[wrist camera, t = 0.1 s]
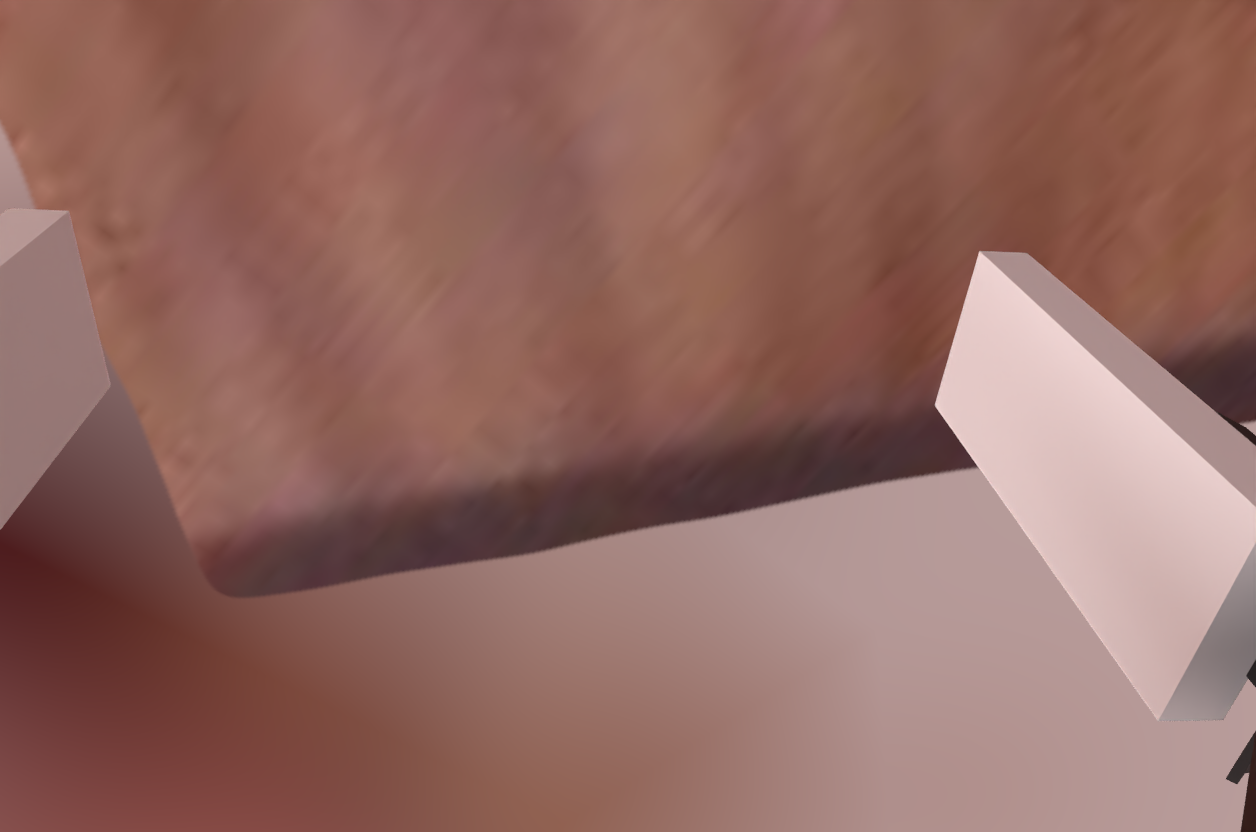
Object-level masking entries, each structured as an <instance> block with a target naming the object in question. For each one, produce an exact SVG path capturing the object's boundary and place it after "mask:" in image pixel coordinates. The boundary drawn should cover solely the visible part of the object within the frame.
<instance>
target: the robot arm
mask: <svg viewBox="0 0 1256 832" xmlns="http://www.w3.org/2000/svg"><path fill="white" fill-rule="evenodd" d="M110 386H111V384H110V380H109V376H108V372H107V368H106V364H105V359H104V355H103V351H102V347H101V343H100V339H99V334H98V330H97V326H96V322H95V318H94V314H93V309H92V305H91V301H90V297H89V293H88V289H87V284H86V280H85V276H84V272H83V268H82V264H81V260H80V255H79V251H78V247H77V243H76V239H75V235H74V230H73V226H72V222H71V218H70V214H69V211H58V210H35V209H12V208H9V209H7V210H6V211H5V212H3V213H2V214H0V529H1V528H2V527H3V525H4V524H5V523H6V522H7V520H8V519H9V518H10V516H11V515H12V514H13V513H14V511H15V510H16V509H17V507H18V506H19V504H20V503H21V502H22V501H23V499H24V498H25V497H26V496H27V494H28V493H29V492H30V490H31V489H32V488H33V486H34V485H35V484H36V483H37V481H38V480H39V479H40V477H41V476H42V475H43V473H44V472H45V471H46V469H47V468H48V467H49V466H50V464H51V463H52V462H53V460H54V459H55V458H56V456H57V455H58V454H59V453H60V451H61V450H62V449H63V447H64V446H65V445H66V443H67V442H68V441H69V439H70V438H71V437H72V436H73V434H74V433H75V432H76V430H77V429H78V428H79V427H80V425H81V424H82V422H83V421H84V420H85V419H86V417H87V416H88V415H89V413H90V412H91V411H92V410H93V408H94V407H95V406H96V404H97V403H98V402H99V401H100V399H101V398H102V397H103V395H104V394H105V393H106V391H107V390H108V389H109V387H110ZM935 406H936V408H937V409H938V411H939V412H940V414H941V415H942V416H943V418H944V419H945V421H946V422H947V423H948V425H949V426H950V428H951V429H952V430H953V432H954V433H955V435H956V436H957V438H958V439H959V440H960V442H961V443H962V445H963V446H964V447H965V449H966V450H967V452H968V453H969V455H970V456H971V457H972V459H973V460H974V462H975V463H976V464H977V466H978V467H979V469H980V470H981V471H982V473H983V474H984V475H985V477H986V479H987V480H988V481H989V483H990V484H991V486H992V487H993V488H994V490H995V491H996V493H997V494H998V495H999V497H1000V498H1001V500H1002V501H1003V502H1004V504H1005V505H1006V507H1007V508H1008V510H1009V511H1010V512H1011V514H1012V515H1013V517H1014V518H1015V519H1016V521H1017V522H1018V523H1019V525H1020V527H1021V528H1022V529H1023V531H1024V532H1025V534H1026V535H1027V536H1028V538H1029V539H1030V541H1031V542H1032V543H1033V545H1034V546H1035V548H1036V549H1037V551H1038V552H1039V553H1040V555H1041V556H1042V557H1043V559H1044V560H1045V562H1046V563H1047V565H1048V566H1049V567H1050V569H1051V570H1052V572H1053V573H1054V575H1055V576H1056V578H1057V579H1058V580H1059V582H1060V583H1061V585H1062V586H1063V587H1064V589H1065V590H1066V592H1067V593H1068V594H1069V596H1070V597H1071V599H1072V600H1073V602H1074V603H1075V604H1076V606H1077V607H1078V609H1079V610H1080V611H1081V613H1082V614H1083V615H1084V617H1085V618H1086V620H1087V621H1088V623H1089V624H1090V626H1091V627H1092V628H1093V630H1094V631H1095V633H1096V634H1097V635H1098V637H1099V638H1100V640H1101V641H1102V643H1103V644H1104V645H1105V647H1106V648H1107V650H1108V651H1109V652H1110V654H1111V655H1112V657H1113V658H1114V660H1115V661H1116V662H1117V664H1118V665H1119V667H1120V668H1121V669H1122V671H1123V672H1124V674H1125V675H1126V676H1127V678H1128V679H1129V681H1130V682H1131V684H1132V685H1133V686H1134V688H1135V689H1136V691H1137V692H1138V693H1139V695H1140V696H1141V698H1142V699H1143V700H1144V702H1145V703H1146V705H1147V706H1148V708H1149V709H1150V710H1151V712H1152V713H1153V715H1154V716H1155V717H1156V718H1157V720H1158V721H1192V720H1193V721H1200V720H1224V718H1225V716H1226V715H1227V713H1228V711H1229V710H1230V708H1231V706H1232V705H1233V703H1234V701H1235V700H1236V698H1237V696H1238V695H1239V693H1240V691H1241V690H1242V688H1243V686H1244V685H1245V683H1246V681H1247V680H1248V679H1249V680H1250V681H1251V682H1252V684H1253V685H1254V686H1255V687H1256V436H1255V435H1254V434H1253V433H1252V432H1251V431H1249V430H1248V429H1247V428H1246V427H1244V426H1242V425H1240V424H1238V423H1237V422H1235V421H1233V420H1231V419H1229V418H1227V417H1225V416H1223V415H1222V414H1220V413H1218V412H1216V411H1214V410H1213V409H1211V408H1210V407H1209V406H1208V405H1207V404H1205V403H1204V402H1203V401H1202V400H1201V399H1199V398H1198V397H1197V396H1196V395H1195V394H1194V393H1192V392H1191V391H1190V390H1189V389H1188V388H1186V387H1185V386H1184V385H1183V384H1182V383H1180V382H1179V381H1178V380H1177V379H1176V378H1175V377H1173V376H1172V375H1171V374H1170V373H1169V372H1167V371H1166V370H1165V369H1164V368H1163V367H1161V366H1160V365H1159V364H1158V363H1157V362H1156V361H1154V360H1153V359H1152V358H1151V357H1150V356H1148V355H1147V354H1146V353H1145V352H1144V351H1142V350H1141V349H1140V348H1139V347H1138V346H1137V345H1135V344H1134V343H1133V342H1132V341H1131V340H1129V339H1128V338H1127V337H1126V336H1125V335H1123V334H1122V333H1121V332H1120V331H1119V330H1118V329H1116V328H1115V327H1114V326H1113V325H1112V324H1110V323H1109V322H1108V321H1107V320H1106V319H1104V318H1103V317H1102V316H1101V315H1100V314H1099V313H1097V312H1096V311H1095V310H1094V309H1093V308H1091V307H1090V306H1089V305H1088V304H1087V303H1086V302H1084V301H1083V300H1082V299H1081V298H1080V297H1078V296H1077V295H1076V294H1075V293H1074V292H1072V291H1071V290H1070V289H1069V288H1068V287H1067V286H1065V285H1064V284H1063V283H1062V282H1061V281H1059V280H1058V279H1057V278H1056V277H1055V276H1053V275H1052V274H1051V273H1050V272H1049V271H1048V270H1046V269H1045V268H1044V267H1043V266H1042V265H1040V264H1039V263H1038V262H1037V261H1036V260H1034V259H1033V258H1032V257H1031V256H1030V255H1029V254H1027V253H1014V252H991V251H979V255H978V258H977V262H976V265H975V268H974V272H973V275H972V279H971V282H970V286H969V289H968V293H967V296H966V299H965V303H964V306H963V310H962V313H961V317H960V320H959V324H958V327H957V330H956V334H955V337H954V341H953V344H952V348H951V351H950V355H949V358H948V362H947V365H946V368H945V372H944V375H943V379H942V382H941V386H940V389H939V393H938V396H937V399H936V403H935ZM1245 773H1249V779H1248V786H1247V793H1246V800H1245V806H1244V814H1243V820H1242V827H1241V832H1256V731H1255V733H1254V734H1253V736H1252V738H1251V739H1250V741H1249V742H1248V744H1247V745H1246V747H1245V749H1244V750H1243V752H1242V753H1241V755H1240V757H1239V758H1238V760H1237V761H1236V763H1235V764H1234V766H1233V768H1232V769H1231V771H1230V773H1229V774H1228V776H1227V778H1226V779H1227V780H1229V781H1231V782H1233V783H1235V784H1238V782H1239V781H1240V779H1241V778H1242V777H1243V775H1244V774H1245Z"/></svg>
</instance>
